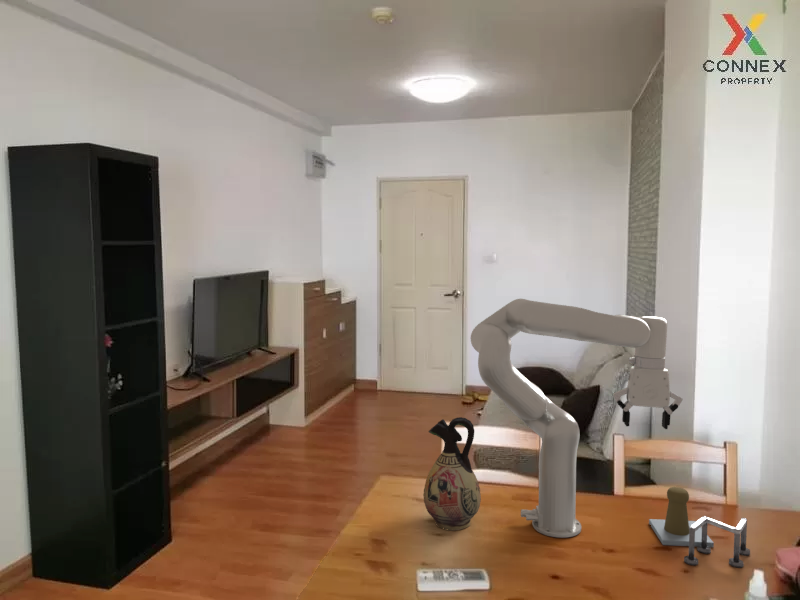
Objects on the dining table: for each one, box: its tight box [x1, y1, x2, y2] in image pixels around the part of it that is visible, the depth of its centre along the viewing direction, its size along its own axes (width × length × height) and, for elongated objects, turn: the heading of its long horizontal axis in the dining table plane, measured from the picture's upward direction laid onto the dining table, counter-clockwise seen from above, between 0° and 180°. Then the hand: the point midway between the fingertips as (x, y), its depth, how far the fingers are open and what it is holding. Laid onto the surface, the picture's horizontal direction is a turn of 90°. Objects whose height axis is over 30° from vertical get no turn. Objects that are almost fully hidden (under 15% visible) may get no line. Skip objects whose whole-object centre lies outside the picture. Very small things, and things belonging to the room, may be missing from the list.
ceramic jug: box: [422, 416, 482, 531], centre depth 161 cm, size 17×15×30 cm
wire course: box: [683, 515, 751, 569], centre depth 144 cm, size 17×9×9 cm, turn 83°
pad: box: [648, 518, 715, 548], centre depth 155 cm, size 12×12×1 cm
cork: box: [664, 486, 690, 536], centre depth 155 cm, size 6×6×11 cm
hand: (645, 426), depth 161 cm, fingers open, 9 cm apart
